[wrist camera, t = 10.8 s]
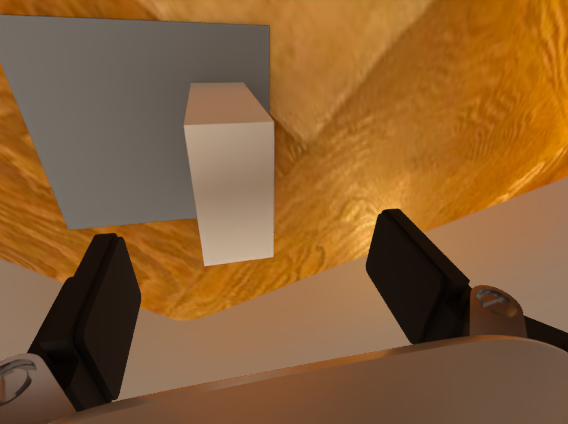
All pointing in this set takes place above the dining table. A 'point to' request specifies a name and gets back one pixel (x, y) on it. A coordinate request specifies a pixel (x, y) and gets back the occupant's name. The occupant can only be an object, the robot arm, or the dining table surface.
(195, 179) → the slab
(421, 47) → the dining table surface
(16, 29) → the mat
